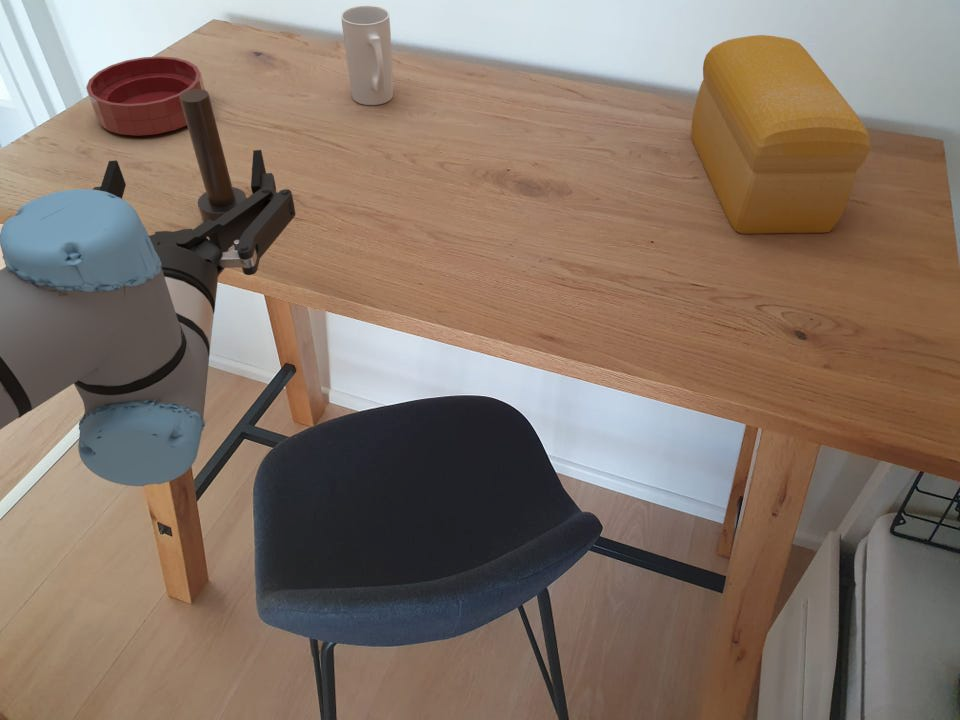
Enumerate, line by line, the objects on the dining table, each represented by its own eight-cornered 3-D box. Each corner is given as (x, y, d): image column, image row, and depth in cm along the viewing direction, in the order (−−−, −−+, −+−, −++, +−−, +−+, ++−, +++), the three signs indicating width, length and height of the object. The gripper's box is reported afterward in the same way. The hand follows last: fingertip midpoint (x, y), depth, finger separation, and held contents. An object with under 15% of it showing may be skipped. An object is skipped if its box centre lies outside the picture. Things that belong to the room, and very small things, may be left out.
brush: (201, 236, 90) (163, 109, 79) (205, 209, 94) (169, 85, 83) (250, 232, 91) (219, 105, 80) (252, 205, 95) (222, 81, 84)
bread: (838, 233, 92) (886, 118, 81) (732, 235, 92) (767, 119, 81) (775, 131, 109) (808, 25, 99) (686, 132, 109) (709, 26, 98)
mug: (345, 89, 117) (335, 9, 108) (387, 82, 119) (381, 2, 110) (362, 120, 110) (354, 36, 102) (407, 112, 112) (402, 29, 104)
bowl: (90, 143, 105) (76, 109, 101) (108, 92, 116) (97, 59, 112) (204, 135, 107) (195, 101, 103) (212, 85, 117) (204, 53, 114)
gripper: (17, 359, 62) (70, 210, 77) (328, 326, 65) (322, 189, 80) (-25, 288, 57) (40, 142, 71) (316, 256, 60) (312, 123, 75)
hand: (189, 167), depth 76 cm, fingers open, 13 cm apart
